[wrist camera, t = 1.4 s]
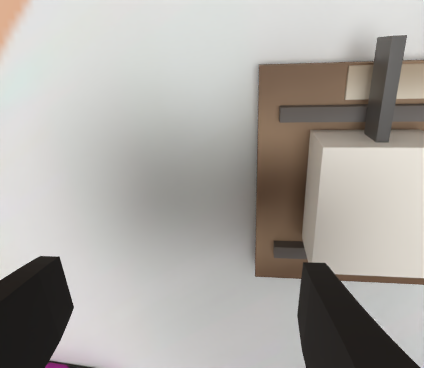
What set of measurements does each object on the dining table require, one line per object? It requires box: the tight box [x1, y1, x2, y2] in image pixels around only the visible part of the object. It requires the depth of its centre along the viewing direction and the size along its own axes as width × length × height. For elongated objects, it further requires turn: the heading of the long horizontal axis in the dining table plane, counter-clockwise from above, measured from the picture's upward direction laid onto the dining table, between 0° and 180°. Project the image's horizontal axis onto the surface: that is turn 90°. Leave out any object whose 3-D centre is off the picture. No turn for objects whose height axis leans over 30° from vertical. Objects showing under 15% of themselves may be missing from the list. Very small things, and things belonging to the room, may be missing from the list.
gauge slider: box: [302, 35, 424, 278], centre depth 15 cm, size 10×7×3 cm
